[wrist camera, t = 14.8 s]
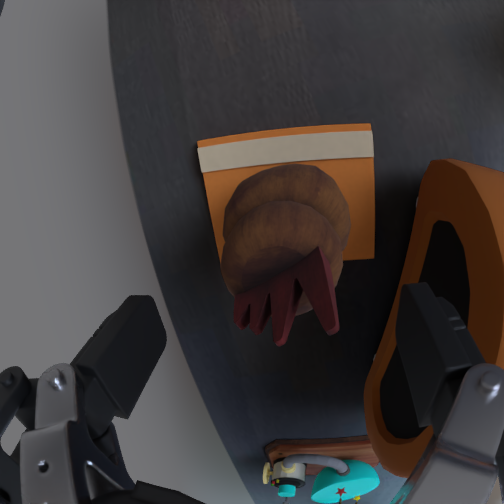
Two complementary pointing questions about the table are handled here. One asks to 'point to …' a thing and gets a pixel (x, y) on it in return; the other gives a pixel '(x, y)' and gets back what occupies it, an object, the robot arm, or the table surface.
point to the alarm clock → (441, 295)
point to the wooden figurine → (285, 248)
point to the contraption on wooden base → (323, 467)
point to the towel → (300, 152)
